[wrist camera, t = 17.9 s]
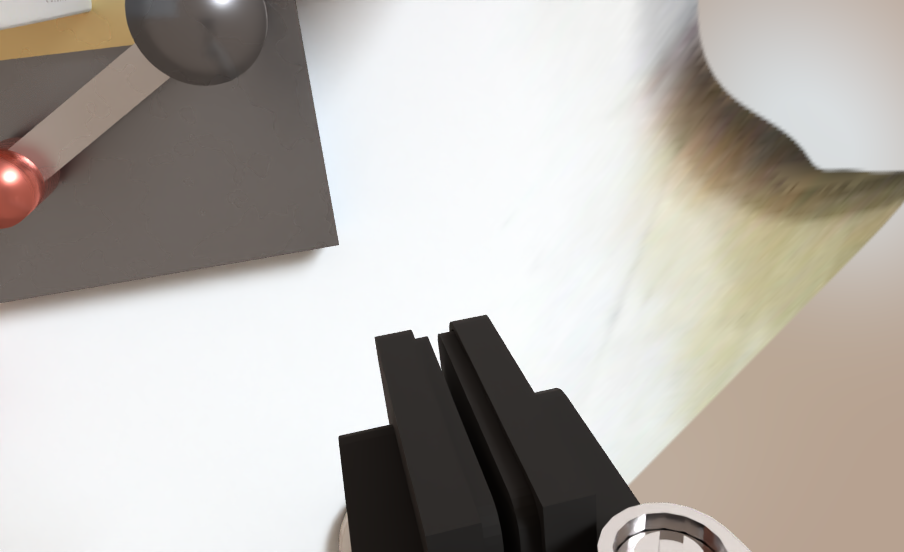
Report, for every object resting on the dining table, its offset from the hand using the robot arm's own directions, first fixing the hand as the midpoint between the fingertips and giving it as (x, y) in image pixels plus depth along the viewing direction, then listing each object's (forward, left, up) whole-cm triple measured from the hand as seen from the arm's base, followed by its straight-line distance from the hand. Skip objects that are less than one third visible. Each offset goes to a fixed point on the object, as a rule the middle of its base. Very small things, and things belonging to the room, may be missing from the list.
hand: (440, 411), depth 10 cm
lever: (+2, +10, -22) cm, 24 cm away
